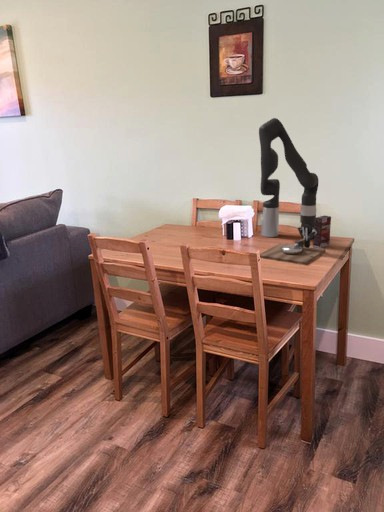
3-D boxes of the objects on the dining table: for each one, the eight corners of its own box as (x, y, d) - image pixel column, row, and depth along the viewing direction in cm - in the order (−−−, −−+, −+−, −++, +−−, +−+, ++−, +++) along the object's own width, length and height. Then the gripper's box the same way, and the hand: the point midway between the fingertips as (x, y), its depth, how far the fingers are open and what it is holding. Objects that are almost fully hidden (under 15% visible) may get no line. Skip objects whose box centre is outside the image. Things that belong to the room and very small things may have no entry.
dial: (295, 255, 208) (296, 247, 207) (278, 251, 214) (278, 244, 213) (311, 248, 218) (311, 240, 217) (294, 245, 225) (294, 238, 224)
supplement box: (320, 248, 223) (321, 218, 219) (312, 246, 227) (313, 217, 222) (330, 245, 228) (331, 216, 224) (322, 243, 232) (323, 215, 227)
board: (258, 257, 213) (258, 253, 212) (280, 245, 232) (280, 242, 231) (306, 264, 198) (306, 261, 198) (325, 251, 217) (325, 248, 217)
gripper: (323, 214, 208) (321, 249, 213) (305, 211, 219) (304, 243, 224) (311, 216, 205) (310, 251, 210) (293, 212, 216) (292, 245, 221)
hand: (307, 247), depth 217 cm, fingers closed
